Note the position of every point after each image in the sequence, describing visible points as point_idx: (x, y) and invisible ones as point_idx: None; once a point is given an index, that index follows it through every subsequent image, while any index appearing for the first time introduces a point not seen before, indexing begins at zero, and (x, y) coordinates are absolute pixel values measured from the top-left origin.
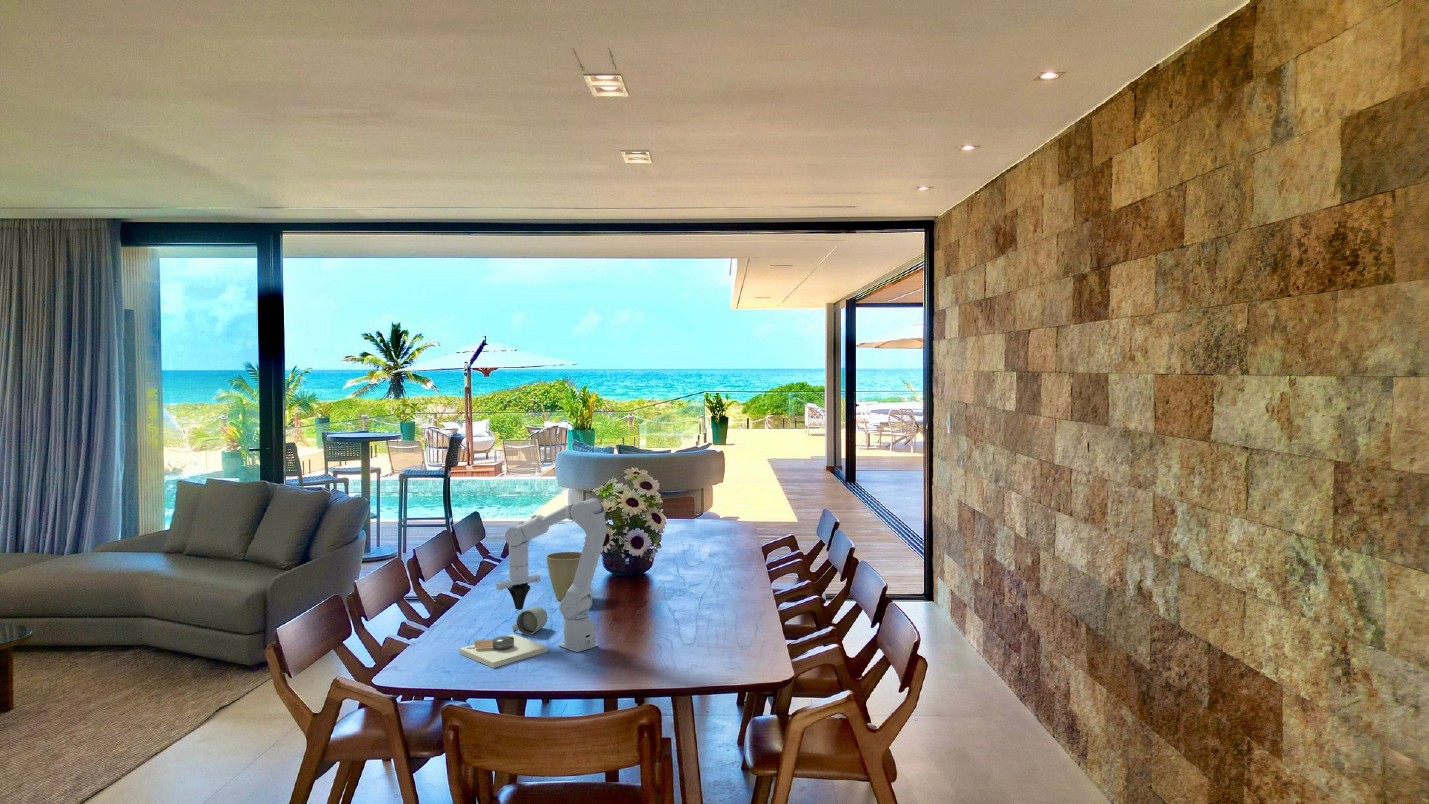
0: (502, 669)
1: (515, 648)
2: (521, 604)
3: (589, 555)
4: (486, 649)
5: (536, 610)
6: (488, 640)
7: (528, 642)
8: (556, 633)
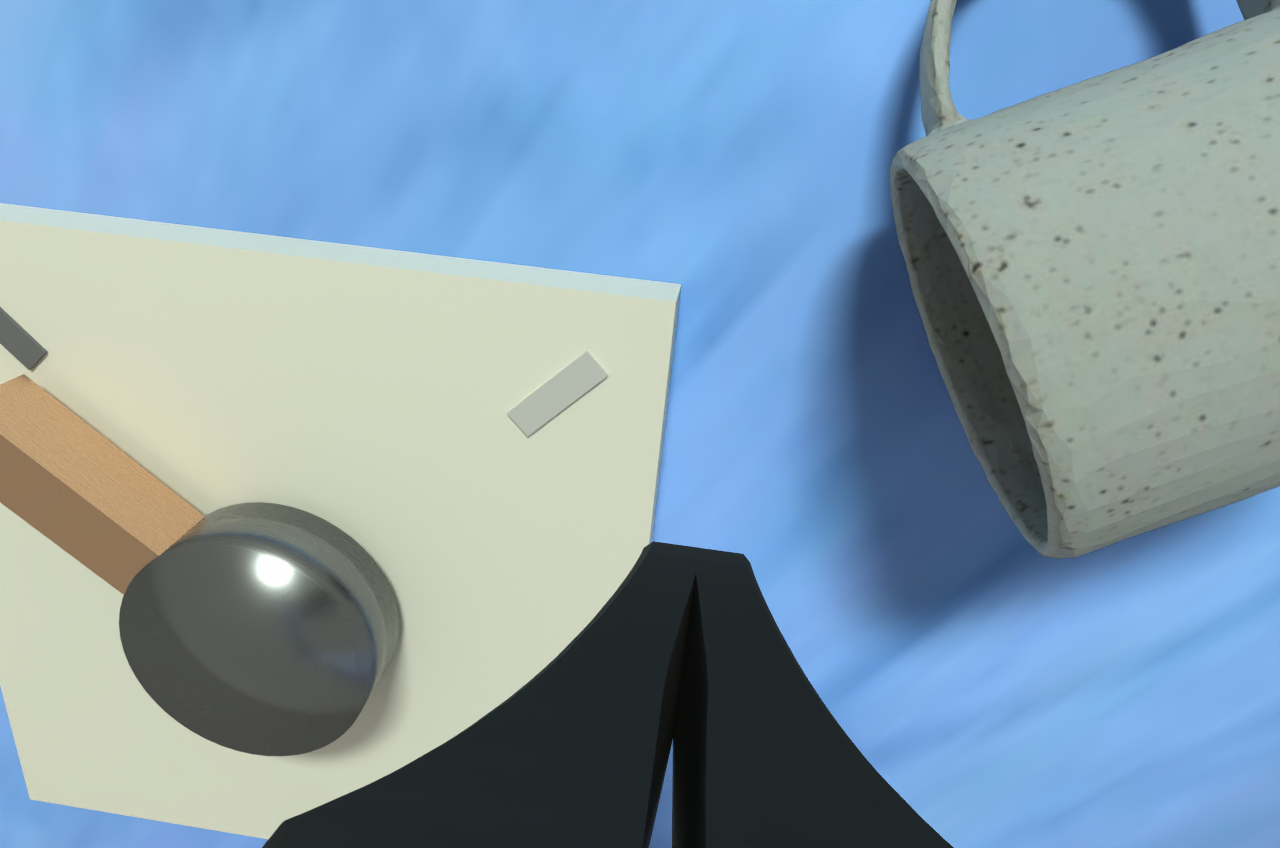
0: (114, 831)
1: (365, 711)
2: (675, 766)
3: None
4: None
5: (1239, 473)
6: (93, 537)
7: None
8: (1157, 568)
